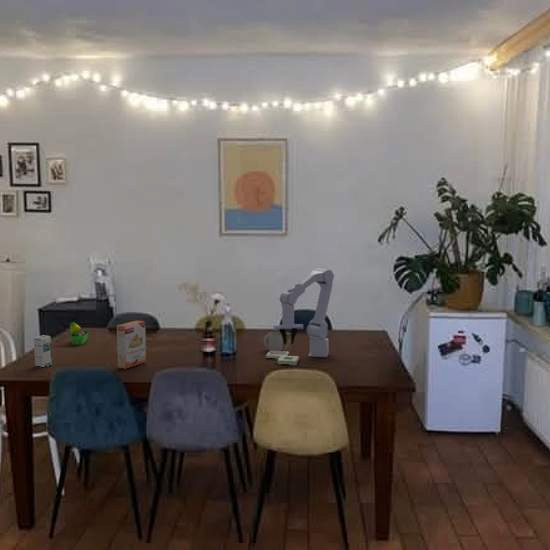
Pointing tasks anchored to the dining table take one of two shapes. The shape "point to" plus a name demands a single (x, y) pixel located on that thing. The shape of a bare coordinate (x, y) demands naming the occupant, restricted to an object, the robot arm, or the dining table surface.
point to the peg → (288, 342)
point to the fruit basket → (78, 334)
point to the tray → (276, 354)
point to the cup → (274, 341)
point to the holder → (288, 360)
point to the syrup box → (43, 350)
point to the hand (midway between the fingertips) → (288, 343)
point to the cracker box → (131, 344)
